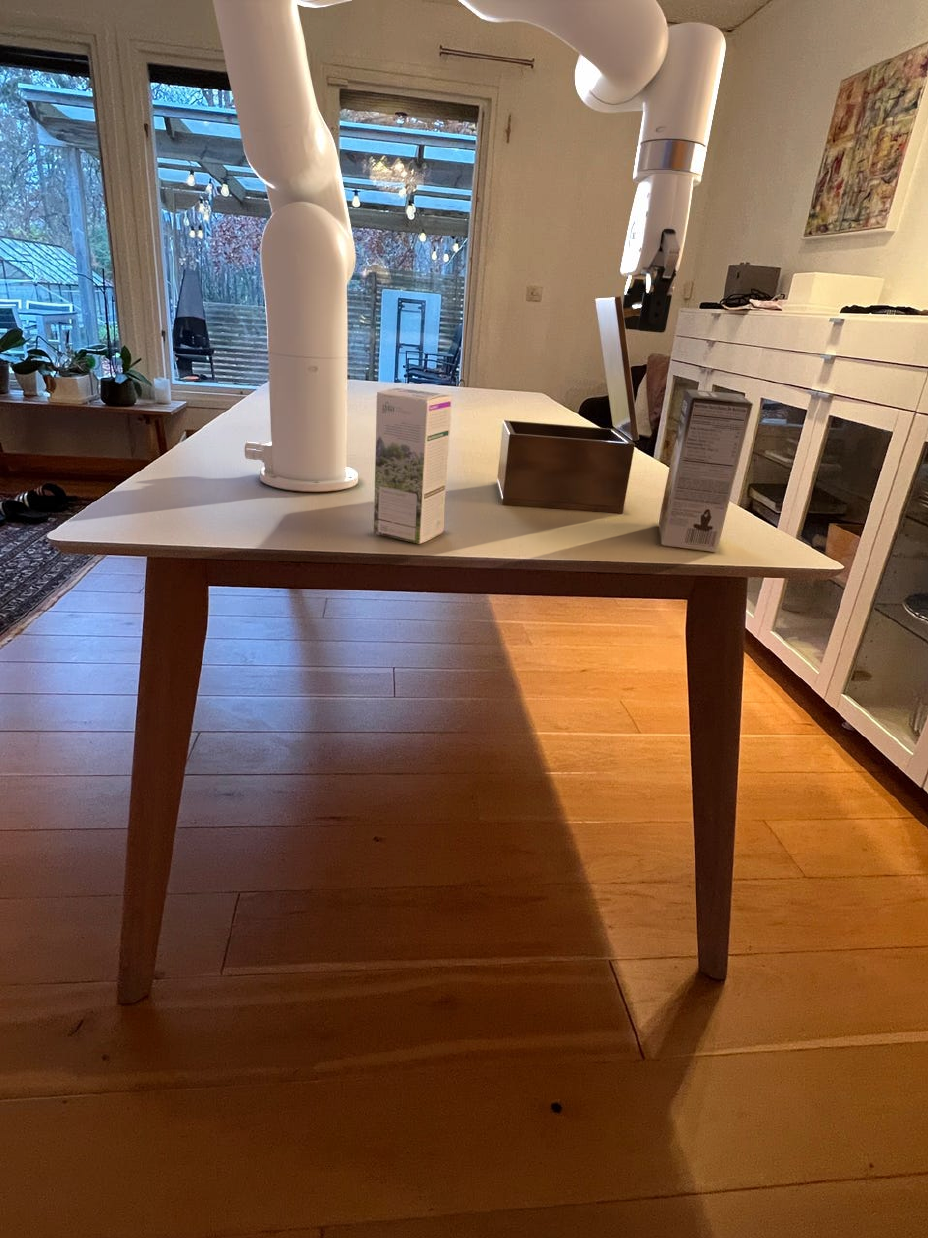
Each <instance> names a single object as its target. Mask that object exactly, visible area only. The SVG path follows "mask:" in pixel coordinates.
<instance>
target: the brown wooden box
mask: <svg viewBox="0 0 928 1238" xmlns="http://www.w3.org/2000/svg"><path fill="white" fill-rule="evenodd" d="M635 446H636V444H635V443H634V442H633V441H632V440H631V439H630V438H628V437H627V436H626V435H624V434H623V433H622V432H619V430H618V429H616V428H608V427H606V428H605V427H594V426H581V425H572V424H571V425H569V424H557V423H556V424H555V423H546V422H545V423H544V422H532V421H521V420H520V421H519V420H509V419H503V420H502V428H501V438H500V447H499V448H500V449H499V459H498V467H497V468H498V469H497V476H496V477H497V478H496V485H497V489H498V493H499V498H500V501H501V505H507V506H519V507H520V506H521V507H532V508H545V509H559V510H571V511H572V510H573V511H586V512H587V511H588V512H599V513H600V512H601V513H613V514H623V513H624V510H625V503H626V497H627V492H628V486H629V480H630V474H631V470H632V464H633V459H634V458H633V457H634V452H635Z"/></svg>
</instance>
